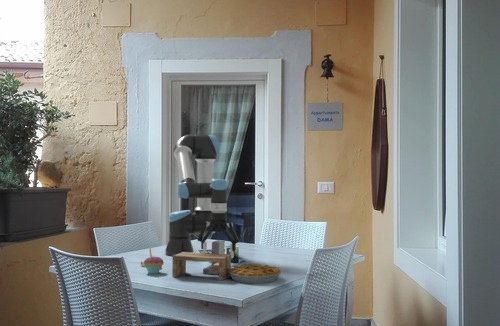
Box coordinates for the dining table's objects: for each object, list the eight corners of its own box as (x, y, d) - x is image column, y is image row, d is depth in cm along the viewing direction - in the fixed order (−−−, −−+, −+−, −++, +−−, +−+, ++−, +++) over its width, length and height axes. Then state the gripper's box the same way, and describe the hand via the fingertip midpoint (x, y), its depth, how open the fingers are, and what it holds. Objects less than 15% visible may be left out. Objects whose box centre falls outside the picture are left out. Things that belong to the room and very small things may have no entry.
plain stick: (140, 266, 250) (140, 261, 250) (144, 266, 252) (144, 260, 252) (157, 269, 243) (157, 264, 243) (161, 269, 245) (161, 263, 245)
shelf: (182, 272, 236) (182, 251, 236) (230, 275, 230) (230, 254, 230) (172, 276, 226) (172, 255, 226) (222, 280, 219) (222, 258, 219)
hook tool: (217, 265, 254) (217, 240, 254) (234, 266, 251) (235, 241, 251) (201, 273, 234) (201, 246, 234) (220, 274, 231) (220, 247, 231)
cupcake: (144, 275, 229) (144, 247, 230) (143, 271, 238) (143, 244, 238) (164, 274, 232) (164, 246, 232) (162, 270, 240) (162, 244, 240)
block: (217, 271, 240) (217, 262, 240) (229, 272, 238) (229, 263, 238) (212, 274, 234) (212, 264, 234) (225, 274, 232) (225, 265, 232)
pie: (251, 271, 239) (251, 260, 239) (291, 278, 225) (291, 266, 225) (218, 279, 222) (218, 267, 222) (258, 287, 208) (259, 274, 208)
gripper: (191, 211, 250) (190, 256, 250) (241, 213, 243) (241, 259, 243) (196, 210, 257) (196, 254, 257) (246, 212, 250) (245, 257, 250)
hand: (218, 257), depth 250 cm, fingers open, 13 cm apart
